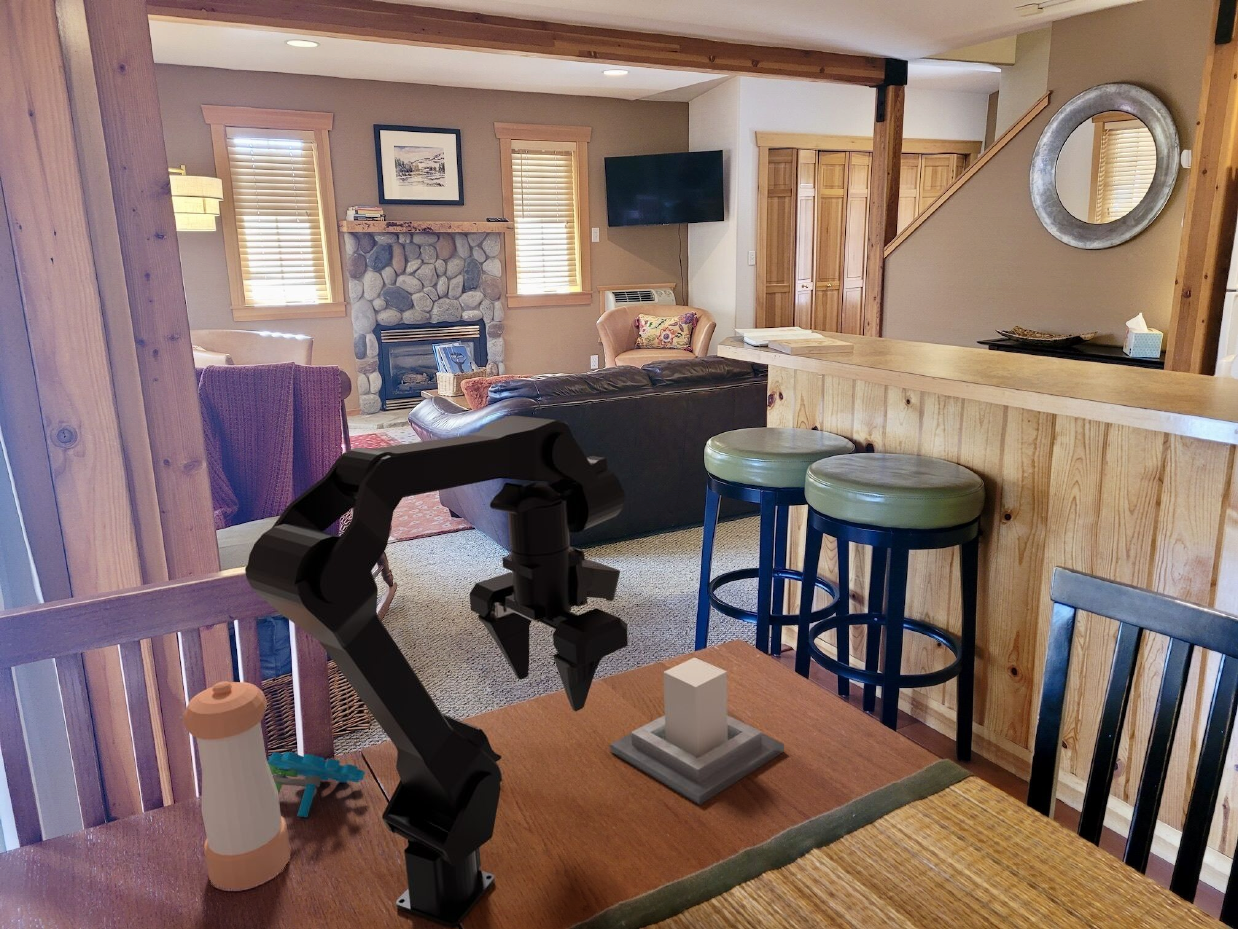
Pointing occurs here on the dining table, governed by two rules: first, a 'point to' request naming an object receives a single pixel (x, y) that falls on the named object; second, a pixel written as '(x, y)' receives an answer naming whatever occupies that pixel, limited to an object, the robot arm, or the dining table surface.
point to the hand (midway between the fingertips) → (549, 693)
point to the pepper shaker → (237, 786)
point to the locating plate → (693, 773)
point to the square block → (695, 707)
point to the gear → (309, 774)
